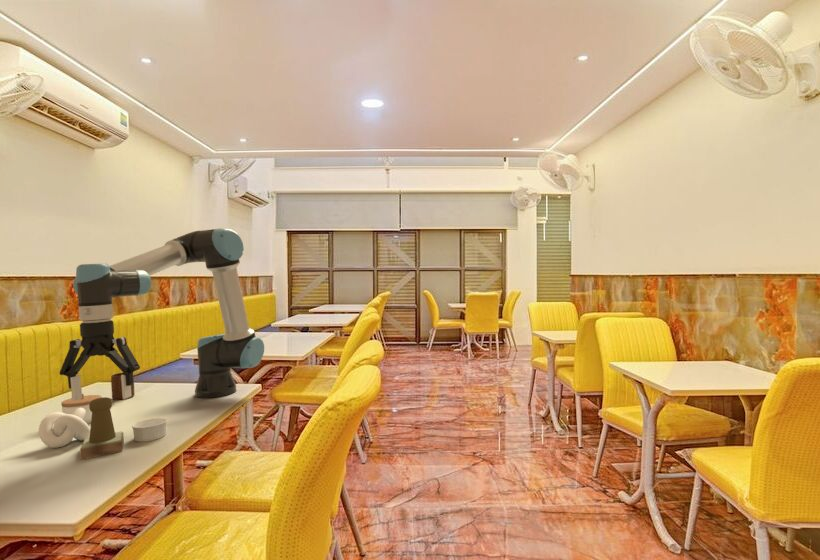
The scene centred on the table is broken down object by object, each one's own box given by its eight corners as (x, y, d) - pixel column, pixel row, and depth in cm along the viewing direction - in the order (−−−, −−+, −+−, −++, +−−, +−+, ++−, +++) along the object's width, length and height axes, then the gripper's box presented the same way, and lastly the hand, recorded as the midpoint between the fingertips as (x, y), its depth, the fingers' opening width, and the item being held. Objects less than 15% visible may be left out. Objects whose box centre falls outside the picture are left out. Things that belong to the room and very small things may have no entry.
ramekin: (135, 435, 135) (134, 420, 135) (169, 430, 138) (168, 416, 138) (130, 445, 127) (129, 429, 127) (166, 439, 130) (165, 424, 130)
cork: (97, 444, 119) (94, 402, 119) (84, 441, 122) (82, 400, 122) (120, 436, 125) (118, 396, 125) (107, 433, 128) (105, 394, 127)
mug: (133, 400, 175) (132, 376, 175) (110, 404, 172) (108, 379, 171) (135, 394, 186) (134, 371, 186) (113, 397, 182) (111, 373, 182)
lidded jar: (81, 428, 143) (80, 398, 143) (53, 427, 145) (52, 398, 145) (110, 417, 154) (109, 390, 153) (84, 417, 156) (82, 389, 156)
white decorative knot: (105, 436, 135) (103, 405, 135) (67, 451, 123) (65, 418, 123) (73, 434, 137) (72, 405, 137) (33, 450, 126) (31, 417, 126)
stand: (123, 441, 130) (123, 430, 130) (122, 451, 122) (121, 440, 122) (85, 448, 125) (84, 437, 125) (80, 459, 117) (80, 447, 117)
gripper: (39, 325, 119) (45, 405, 120) (134, 320, 119) (139, 400, 120) (61, 321, 127) (66, 397, 127) (150, 317, 127) (155, 392, 127)
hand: (102, 398), depth 124 cm, fingers open, 13 cm apart
